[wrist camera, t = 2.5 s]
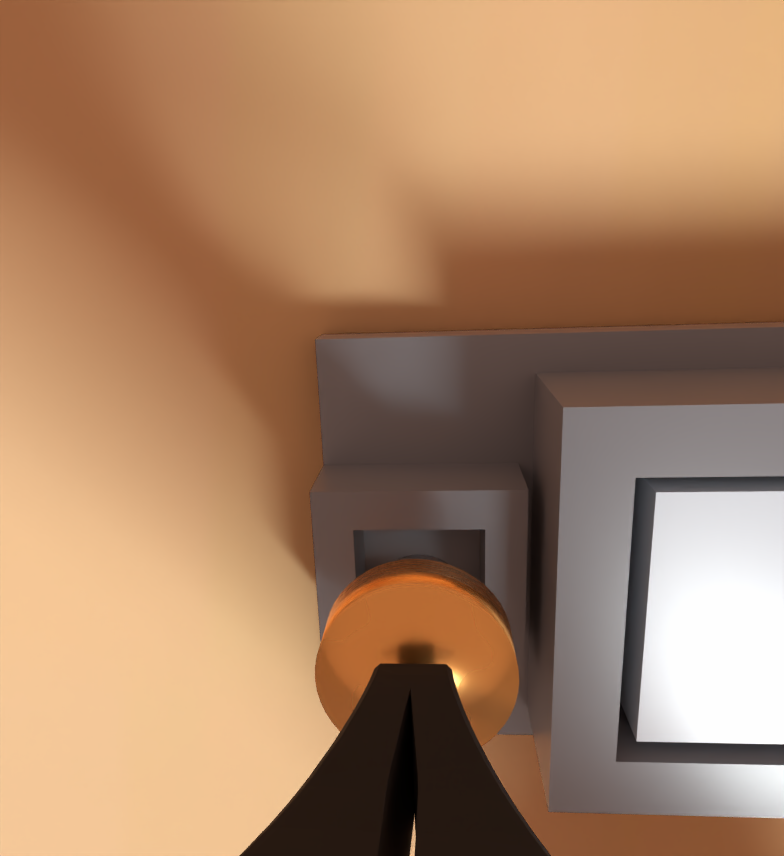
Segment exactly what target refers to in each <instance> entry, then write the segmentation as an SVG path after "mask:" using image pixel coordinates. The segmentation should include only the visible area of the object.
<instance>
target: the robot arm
mask: <svg viewBox="0 0 784 856" xmlns="http://www.w3.org/2000/svg"><path fill="white" fill-rule="evenodd" d="M414 813H415V830H416V843H415V856H551V855H550V854H549V853H548V851H547V850H546V848H545V847H544V846H543V844H542V843H541V842H540V840H539V839H538V838H537V836H536V835H535V834H534V832H533V831H532V829H531V828H530V827H529V825H528V824H527V822H526V821H525V819H524V818H523V816H522V815H521V814H520V812H519V811H518V809H517V807H516V806H515V804H514V803H513V801H512V800H511V798H510V797H509V795H508V793H507V792H506V790H505V788H504V787H503V785H502V783H501V782H500V780H499V778H498V776H497V775H496V773H495V771H494V770H493V768H492V766H491V764H490V762H489V760H488V759H487V757H486V755H485V753H484V751H483V749H482V747H481V745H480V743H479V741H478V739H477V737H476V735H475V733H474V731H473V729H472V727H471V724H470V722H469V720H468V717H467V715H466V713H465V710H464V708H463V705H462V703H461V700H460V697H459V694H458V692H457V688H456V685H455V681H454V677H453V671H452V669H451V668H450V667H449V666H448V665H447V664H391V663H380V664H379V665H378V666H377V667H376V668H375V669H374V671H373V673H372V676H371V678H370V680H369V682H368V684H367V686H366V688H365V690H364V692H363V694H362V696H361V698H360V700H359V701H358V703H357V705H356V707H355V709H354V710H353V712H352V714H351V715H350V717H349V719H348V720H347V722H346V723H345V725H344V727H343V728H342V730H341V732H340V733H339V735H338V736H337V738H336V740H335V741H334V743H333V744H332V746H331V747H330V749H329V750H328V751H327V753H326V754H325V756H324V757H323V758H322V760H321V761H320V762H319V764H318V765H317V767H316V768H315V769H314V771H313V772H312V774H311V775H310V776H309V778H308V779H307V780H306V782H305V783H304V784H303V786H302V787H301V788H300V789H299V791H298V792H297V793H296V794H295V796H294V797H293V798H292V799H291V800H290V802H289V803H288V804H287V805H286V806H285V807H284V809H283V810H282V811H281V812H280V813H279V814H278V816H277V817H276V818H275V819H274V820H273V821H272V822H271V823H270V825H269V826H268V827H267V828H266V829H265V830H264V831H263V832H262V833H261V834H260V835H259V836H258V837H257V838H256V839H255V840H254V841H253V842H252V843H251V844H250V846H249V847H248V848H247V849H246V850H245V851H244V852H243V853H242V854H241V855H240V856H409V855H410V847H411V839H412V830H413V822H414Z"/></svg>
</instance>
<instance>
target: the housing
mask: <svg viewBox="0 0 784 856" xmlns="http://www.w3.org/2000/svg"><path fill="white" fill-rule="evenodd" d="M315 344H316V359H317V374H318V389H319V404H320V419H321V434H322V449H323V463H324V465H323V467H322V469H321V471H320V473H319V475H318V477H317V479H316V481H315V483H314V485H313V487H312V488H311V490H310V504H311V517H312V531H313V544H314V558H315V571H316V585H317V598H318V612H319V625H320V639H321V640H322V637H323V633H324V630H325V627H326V623H327V620H328V617H329V614H330V611H331V609H332V607H333V605H334V603H335V601H336V599H337V598H338V596H339V595H340V593H341V592H342V591H343V590H344V589H345V588H346V587H347V586H348V584H350V583H351V582H352V581H353V580H354V579H356V578H357V577H358V576H360V575H361V574H363V573H365V572H366V571H368V570H370V569H372V568H374V567H377V566H379V565H382V564H385V563H388V562H392V561H395V560H397V559H399V558H401V557H405V556H408V555H416V554H422V555H430V556H433V557H437V558H439V559H441V560H443V561H445V562H446V563H448V564H449V565H453V566H455V567H457V568H460V569H462V570H464V571H466V572H467V573H469V574H471V575H472V576H474V577H476V578H477V579H478V580H479V581H481V582H482V583H483V584H485V586H486V587H487V588H488V589H489V590H490V591H491V592H492V593H493V594H494V595H495V597H496V598H497V599H498V601H499V602H500V604H501V605H502V607H503V609H504V611H505V613H506V615H507V618H508V621H509V624H510V629H511V633H512V638H513V644H514V649H515V654H516V659H517V664H518V669H519V689H518V695H517V699H516V703H515V706H514V708H513V710H512V713H511V715H510V717H509V718H508V720H507V721H506V723H505V725H504V726H503V727H502V728H501V729H500V731H499V732H498V733H497V734H508V735H533V737H534V742H535V747H536V752H537V757H538V762H539V767H540V772H541V777H542V782H543V787H544V792H545V797H546V802H547V807H548V812H568V813H606V814H643V815H680V816H717V817H755V818H784V744H743V743H689V742H636V739H635V737H634V734H633V732H632V729H631V727H630V724H629V722H628V719H627V717H626V715H625V712H624V710H623V707H622V705H621V702H620V695H621V681H622V666H623V652H624V637H625V623H626V609H627V594H628V580H629V566H630V551H631V537H632V522H633V508H634V494H635V479H636V478H660V477H756V476H784V322H761V323H725V324H688V325H651V326H615V327H578V328H542V329H505V330H468V331H432V332H395V333H359V334H322V335H321V336H319V337H318V338H316V339H315Z"/></svg>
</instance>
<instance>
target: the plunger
mask: <svg viewBox="0 0 784 856" xmlns="http://www.w3.org/2000/svg"><path fill="white" fill-rule="evenodd" d="M380 663H391V664H447V665H448V666H449V667H450V668H451V669H452V671H453V677H454V681H455V685H456V688H457V692H458V694H459V697H460V700H461V703H462V705H463V708H464V710H465V713H466V715H467V717H468V720H469V722H470V724H471V727H472V729H473V731H474V733H475V735H476V737H477V739H478V741H479V743H480V745H481V746H483V745H484V744H486V743H487V742H488V741H490V740H491V739H492V738H493V737H494V736H495V735H496V734H497V733H498V732H499V731H500V729H501V728H502V727H503V726H504V725H505V723H506V721H507V720H508V718H509V717H510V715H511V713H512V710H513V708H514V706H515V703H516V699H517V695H518V689H519V669H518V664H517V659H516V654H515V649H514V644H513V638H512V633H511V629H510V624H509V621H508V618H507V615H506V613H505V611H504V609H503V607H502V605H501V604H500V602H499V601H498V599H497V598H496V597H495V595H494V594H493V593H492V592H491V591H490V590H489V589H488V588H487V587H486V586H485V584H483V583H482V582H481V581H479V580H478V579H477V578H476V577H474V576H472V575H471V574H469V573H467V572H466V571H464V570H462V569H460V568H457V567H455V566H453V565H449V564H448V563H446V562H445V561H443V560H441V559H439V558H437V557H433V556H430V555H422V554H416V555H408V556H405V557H401V558H399V559H397V560H395V561H392V562H388V563H385V564H382V565H379V566H377V567H374V568H372V569H370V570H368V571H366V572H365V573H363V574H361V575H360V576H358V577H357V578H356V579H354V580H353V581H352V582H351V583H350V584H348V586H347V587H346V588H345V589H344V590H343V591H342V592H341V593H340V595H339V596H338V598H337V599H336V601H335V603H334V605H333V607H332V609H331V611H330V614H329V617H328V620H327V623H326V627H325V630H324V633H323V637H322V640H321V644H320V647H319V651H318V654H317V659H316V665H315V681H316V687H317V692H318V695H319V698H320V701H321V704H322V706H323V708H324V710H325V712H326V713H327V715H328V717H329V718H330V720H331V721H332V722H333V724H334V725H335V726H336V727H337V728H338V730H339V731H340V732H341V730H342V728H343V727H344V725H345V723H346V722H347V720H348V719H349V717H350V715H351V714H352V712H353V710H354V709H355V707H356V705H357V703H358V701H359V700H360V698H361V696H362V694H363V692H364V690H365V688H366V686H367V684H368V682H369V680H370V678H371V676H372V673H373V671H374V669H375V668H376V667H377V666H378V665H379V664H380Z"/></svg>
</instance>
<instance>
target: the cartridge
mask: <svg viewBox="0 0 784 856" xmlns="http://www.w3.org/2000/svg"><path fill="white" fill-rule="evenodd" d="M620 702H621V705H622V707H623V710H624V712H625V715H626V717H627V719H628V722H629V724H630V727H631V729H632V732H633V734H634V737H635V739H636V742H689V743H743V744H784V476H756V477H660V478H636V479H635V494H634V508H633V522H632V537H631V551H630V566H629V580H628V594H627V609H626V623H625V637H624V652H623V666H622V681H621V695H620Z"/></svg>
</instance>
